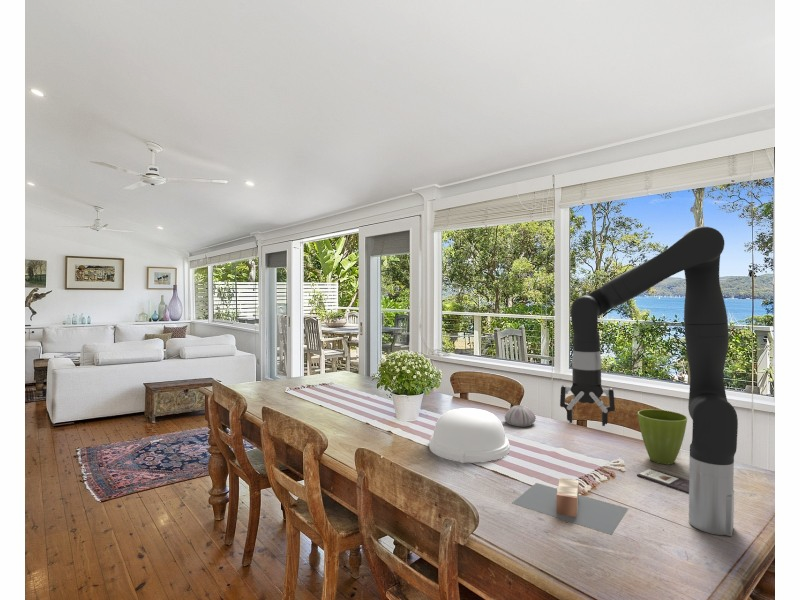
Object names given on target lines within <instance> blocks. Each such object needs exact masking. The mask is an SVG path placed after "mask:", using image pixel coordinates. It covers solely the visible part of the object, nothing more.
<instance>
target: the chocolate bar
mask: <svg viewBox="0 0 800 600" xmlns="http://www.w3.org/2000/svg"><path fill="white" fill-rule="evenodd" d="M636 477H638V478H640V479H644V480H646V481H650V482H653V483H656V484H658V485H662V486H664V487H667V488H671V489H672V490H673V489H674V490H677V491H679V492H682V493H685V494H688V495H689V479H688V478H684V477H681V476H677V475H674V474H671V473H668V472H665V471H662V470H659V469H655V468H651V467H650V468H648V469H646V470H644V471H643V472H640V473H637V475H636Z"/></svg>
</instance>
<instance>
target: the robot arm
mask: <svg viewBox="0 0 800 600" xmlns="http://www.w3.org/2000/svg"><path fill="white" fill-rule="evenodd" d="M724 249H725V238H724V236H723V234H722V232H720V231H719V230H717V228H714V227H710V226H697V227H694V228H692V229H689V230H688V231H687V232H686V233H685V234H684V235H683V236H682V237H681V238H680V239H678V240H677V241H676V242H674V243H673V244H672V245H671V246H669V247H668V248H666V249H665V250H663V251H661V252H660V253H659V254H657V255H655V256H654V257H652V258H650V259H648V260H647V261H644V262H642V263H641V264H640V263H639V264H638V265H636V266H634V267H632V268H631V269H629V270H626V271H625V272H623V273H621V274H619V275H617V276H616V277H614V278H612V279H610V280H608V281H607V282H605V283H604V284H603V285H602V286H601V287H598V288H597V289H594V290H593V291H590V292H589V293H587V294H585V295H581V296H578V297H577V298H575V299H574V300H573V301H572V304H571V307H570V308H571V309H570V316H571V317H570V318H571V324H572V327H571V328H572V332H573V334H572V335H573V336H572V337H573V339H572V341H573V342H572V357H571V358H572V364H571V365H572V368H571V370H572V385H571V386H566V385H565V384H562V385H561V387H560V396H559V397H560V399H559V406H560V407H561V408H564V409H566V420H567V421H569V424H572V423H573V407H574V406H575V405H576V404H577V403H578V402H579V403H581V404H587V403H588V404H596V405H597V406H598V407H599V408H600V410H601V425H602V427H606V425H607V424H608V422H609V421H608V414H609V412H610V413H611V412H615V409H616V407H615V406H616V405H615V392H614V388H612V387H609V388H603V386H602V357H601V338H600V337H601V336H600V332H599V331H598V330H599V329H598V326H599V325H598V324H599V322H598V321H599V319H598V318H599V316H602V315H603V314H605V313H607V312H608V311H610V310H612V309H613V308H615V307H618V306H620V305H622V304H624V303H626V302H628V301H630V300H632V299H634V298H636V297H638V296H639V295H642V294H643V293H644V292H647V291H648V290H650V289H652V288H653V287H654V286H657V285H658V284H660V283H661V282H662V281H664V280H667V279H668V278H670V277H672V276H674V275H676V274H678V273H680V272H682V271H684V280H685V293H684V296H685V297H684V307H683V308H684V309H683V311H684V312H683V313H684V314H683V324H684V338H685V339H684V340H685V347H686V356H687V362H688V366H689V367H688V368H689V391H688V394H689V395H688V403H687V405H688V406H687V408H688V415H689V417H690V418H691V420H692V431H691V432H692V433H691V434H692V435H691V437H692V438H691V443H690V444H689V464H688V465H689V467H688V468H689V469H688V471H689V474H688V475H689V477H688V480H689V494H688V522H689V524H690V525H691V526H693V527H694V528H695V529H698V530H700V531H702V532H705V533H708V534H711V535H717V536H727V537H732V536H733V530H734V525H735V524H734V521H735V520H734V519H735V514H734V512H735V490H734V470H735V455H736V452H737V448H738V431H739V430H738V429H739V423H738V420H739V418H738V415H737V411H736V409H735V408H734V406H733V405H732V404H731V403H730V402H729V401H728V398H727V393H726V388H725V380H724V379H725V377H724V370H725V364H726V360H727V355H728V350H729V344H730V343H729V340H730V336H729V334H730V333H729V321H728V314H727V313H728V312H727V308H726V303H725V299H724V296H723V292H722V288H721V282H720V263H721V254H722V253H723V252H724ZM569 392H571V393H572V395H573V398H571V400H570V401H569V402H566V395H567V394H569ZM603 394H605V396H606V397H607V398H608V401H609V405H607V406H606V404H605V403H604V402H603V400H602V399H601V396H602V395H603Z"/></svg>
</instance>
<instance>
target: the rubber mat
mask: <svg viewBox="0 0 800 600" xmlns="http://www.w3.org/2000/svg"><path fill="white" fill-rule="evenodd" d="M557 489H558V487H557V488H556V487H553V486H549V485H546V484H542V483H538V482H535V483H534V484H533V485H532V486H530V487H529V488H528V489H527V490H525V491H524V492H523V493H522V494H521V495H519V496H518V497H517V498H516V499H515V500H514V501H512V502H511V504H512V505H516V506H519V507H522V508H525V509H527V510H531V511H535V512H537V513H541V514H544V515H547V516H551V517H553V518H557V519H559V520H562V521H566V522H570V523H573V524H576V525H579V526H582V527H585V528H588V529H592V530H595V531H598V532H601V533H603V534H606V535H610V536H612V535H613V533H614V531H615V530H616V529H617V527H618V526H619V524H620V522H622V520H623V518H624V517H625V514H626V513H627V512H628V510H629V509H630V508H628V507H625V506H622V505H619V504H618V505H617V504H614V503H610V502H606V501H603V500H601V499H596V498H593V497H589V496H585V495H581V494H579V499H578V509H577V517H573V516H568V515H562V514H557V513H556V512H557Z"/></svg>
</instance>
